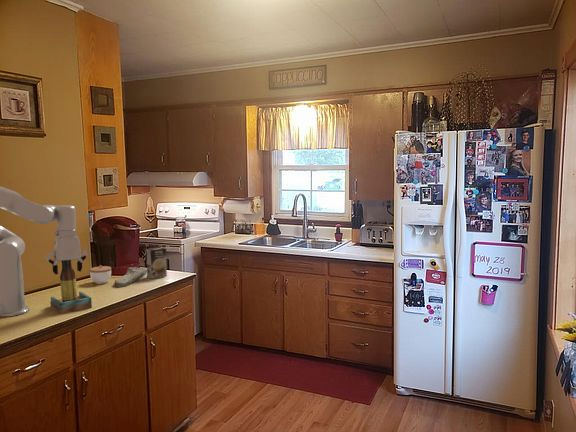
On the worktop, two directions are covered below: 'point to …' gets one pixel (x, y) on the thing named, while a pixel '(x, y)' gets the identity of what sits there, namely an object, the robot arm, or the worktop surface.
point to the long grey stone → (130, 276)
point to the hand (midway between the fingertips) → (67, 272)
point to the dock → (71, 304)
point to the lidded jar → (100, 274)
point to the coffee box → (156, 263)
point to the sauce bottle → (68, 282)
